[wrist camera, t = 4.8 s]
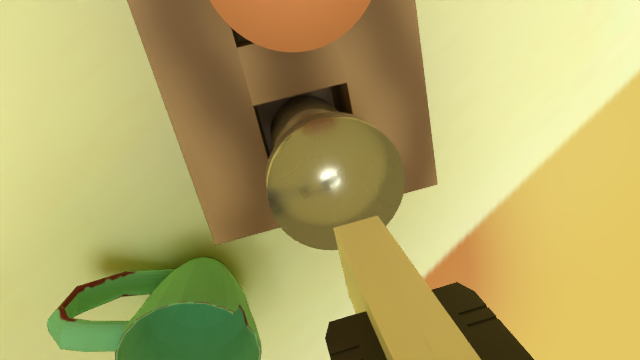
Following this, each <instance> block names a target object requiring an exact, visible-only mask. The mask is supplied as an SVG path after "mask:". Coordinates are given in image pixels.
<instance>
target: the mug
mask: <svg viewBox="0 0 640 360" xmlns="http://www.w3.org/2000/svg"><path fill="white" fill-rule="evenodd" d="M145 294H151V295H150V296H149V297H148V299H147V300H146V302H145V303H144V305H143V306H142V307H141V308H140V310H139V311H138V312H137V313H136V314H135V315H134V316H133V318H132V319H131V320H130V321H88V320H81V319H74V317H75V316H77V315H79V314H81V313H83V312H85V311H88V310H90V309H93V308H95V307H97V306H100V305H102V304H105V303H107V302H110V301H112V300H115V299H117V298H119V297H124V296H134V295H145ZM47 327H48V331H49V333H50V334H51V335H52V337H53V338H54V340H55V341H56V343H57V344H58V346H59V347H60V349H65V350H74V351H84V352H97V351H116V352H115V360H260V359H261V342H260V338H259V335H258V331H257V328H256V325H255V322H254V319H253V317H252V314H251V312H250V309H249V307H248V304H247V301H246V298H245V294H244V293H243V291H242V289H241V287H240V286H239V284H238V282H237V281H236V279H235V278H234V277H233V276H232V274H231V273H230V272H229V271H228V269H227V268H226V267H225V266H224V264H223V263H221V262H220V261H218V260H216V259H213V258H210V257H198V258H194V259H191V260H189V261H188V262H186V263H184V264H183V265H181V266H180V267H178V268H177V269H162V270H144V271H125V272H122V273H119V274H116V275H113V276H109V277H106V278H103V279H100V280H96V281H93V282H90V283H87V284H83V285H80V286H77V287H76V288H75V289H74V290H73V291H72V293H71V294H70V295H69V296H68V297H67V298H66V299H65V300H64V302H63V303H62V304H61V305H60V306H59V307H58V308H57V309H56V311H55V312H54V313H53V314H52V315H51V316H50V318H49V319H48V322H47Z"/></svg>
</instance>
